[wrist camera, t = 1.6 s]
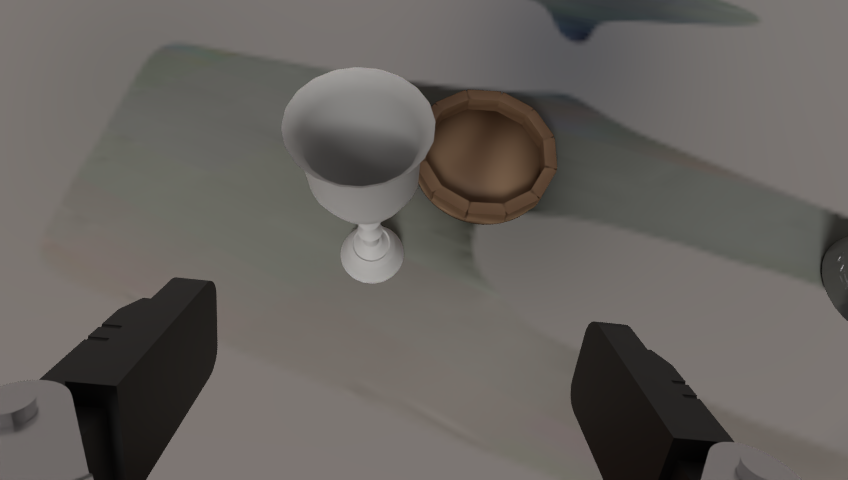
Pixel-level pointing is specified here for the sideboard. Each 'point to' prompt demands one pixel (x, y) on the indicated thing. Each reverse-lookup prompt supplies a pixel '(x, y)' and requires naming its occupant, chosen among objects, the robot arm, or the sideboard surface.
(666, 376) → the robot arm
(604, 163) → the sideboard surface
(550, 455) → the sideboard surface
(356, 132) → the chalice
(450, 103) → the tan segmented-rim dish
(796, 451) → the sideboard surface
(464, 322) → the sideboard surface
